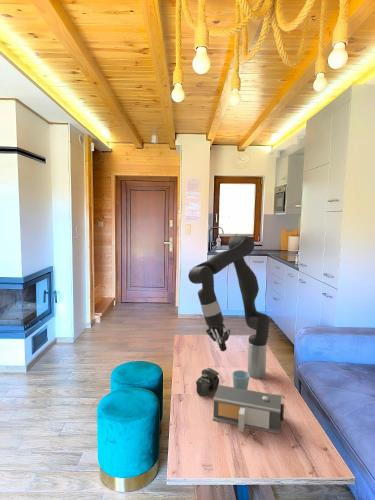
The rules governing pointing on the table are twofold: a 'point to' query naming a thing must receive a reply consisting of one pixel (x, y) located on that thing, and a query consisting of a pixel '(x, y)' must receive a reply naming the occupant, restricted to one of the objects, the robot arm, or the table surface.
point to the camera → (207, 382)
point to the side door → (252, 418)
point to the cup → (240, 379)
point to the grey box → (234, 398)
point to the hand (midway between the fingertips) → (223, 350)
